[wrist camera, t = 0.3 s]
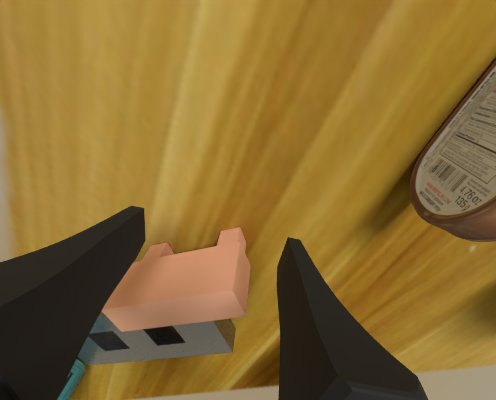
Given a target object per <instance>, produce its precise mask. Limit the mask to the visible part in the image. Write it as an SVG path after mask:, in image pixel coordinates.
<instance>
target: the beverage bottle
mask: <svg viewBox="0 0 496 400" xmlns="http://www.w3.org/2000/svg"><path fill="white" fill-rule="evenodd" d="M84 372H85V366H84V365H83V363H81V362H80V361H79V360H77V359H76V361H75V363H74V365H73V367H72V369H71V371H70V373H69V375H68V378H67V380H66V382H65V384H64V386H63V389H62V391H61V393H60V395H59V397H58V399H57V400H69V399H70V397H71V395H72V393H74V392H75V391H74V390H75V388H76V387H77V385H79V384H78V383H79V381H80V380H81V378H82V376H83V375H84Z"/></svg>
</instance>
